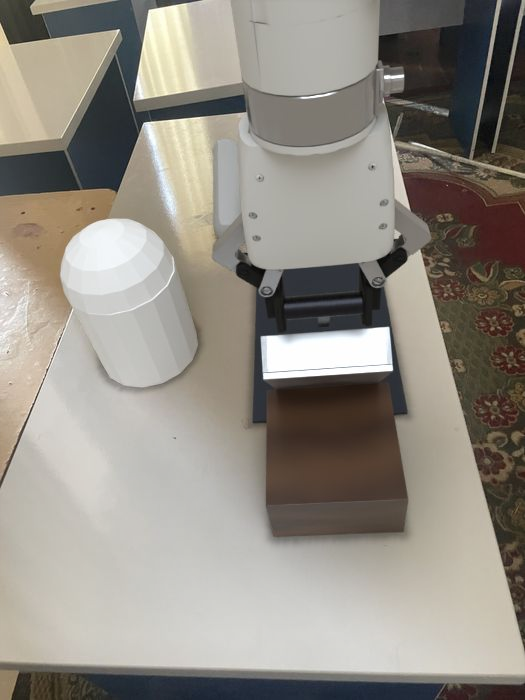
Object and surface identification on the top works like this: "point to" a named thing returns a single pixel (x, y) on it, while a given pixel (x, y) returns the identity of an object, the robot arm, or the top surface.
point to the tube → (225, 185)
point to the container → (129, 301)
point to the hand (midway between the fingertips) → (323, 315)
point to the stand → (333, 461)
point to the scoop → (326, 346)
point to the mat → (311, 284)
